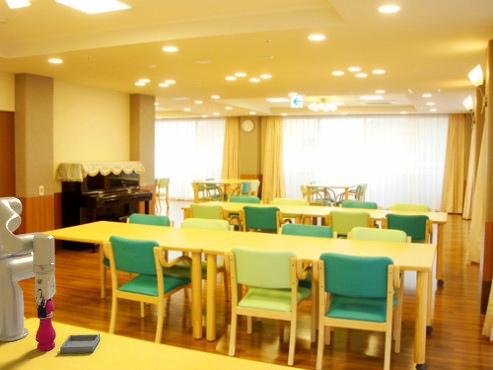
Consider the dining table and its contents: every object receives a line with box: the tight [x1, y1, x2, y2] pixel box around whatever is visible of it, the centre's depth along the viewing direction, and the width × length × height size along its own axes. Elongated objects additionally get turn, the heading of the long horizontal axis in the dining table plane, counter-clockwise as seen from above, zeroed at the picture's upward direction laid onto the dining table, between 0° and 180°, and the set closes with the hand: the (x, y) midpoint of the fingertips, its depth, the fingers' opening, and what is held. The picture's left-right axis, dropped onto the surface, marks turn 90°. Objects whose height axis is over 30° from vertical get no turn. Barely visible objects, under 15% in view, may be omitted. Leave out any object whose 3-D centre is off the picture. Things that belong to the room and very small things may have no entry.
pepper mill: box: [35, 297, 57, 352], centre depth 180 cm, size 7×7×20 cm
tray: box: [60, 333, 101, 355], centre depth 181 cm, size 12×12×2 cm
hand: (45, 314), depth 180 cm, fingers closed on pepper mill, 6 cm apart
